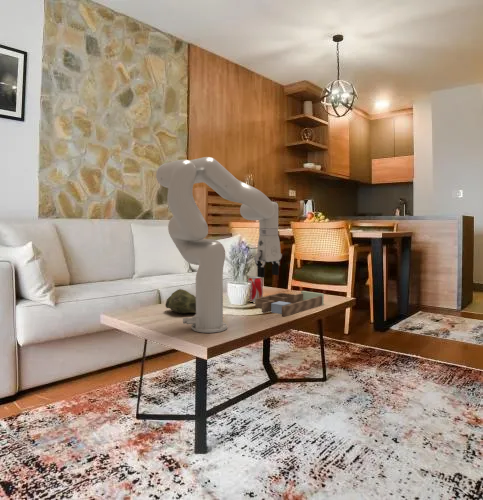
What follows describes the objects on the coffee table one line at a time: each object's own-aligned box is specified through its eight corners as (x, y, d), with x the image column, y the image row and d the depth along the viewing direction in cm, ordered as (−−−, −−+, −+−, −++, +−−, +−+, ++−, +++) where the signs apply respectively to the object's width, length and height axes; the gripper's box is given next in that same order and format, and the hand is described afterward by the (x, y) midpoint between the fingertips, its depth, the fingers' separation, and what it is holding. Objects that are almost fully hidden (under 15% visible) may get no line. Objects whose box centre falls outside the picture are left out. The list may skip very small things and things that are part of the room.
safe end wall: (322, 304, 181) (322, 294, 181) (300, 301, 188) (301, 291, 188) (323, 304, 182) (323, 293, 181) (302, 301, 189) (302, 290, 189)
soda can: (261, 304, 183) (261, 278, 182) (246, 303, 185) (246, 277, 184) (263, 301, 190) (263, 276, 189) (249, 300, 191) (249, 275, 191)
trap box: (284, 316, 158) (284, 306, 158) (246, 309, 171) (246, 300, 171) (322, 304, 181) (322, 296, 181) (286, 299, 194) (286, 291, 193)
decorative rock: (196, 311, 175) (198, 288, 176) (206, 316, 160) (207, 291, 161) (163, 310, 170) (164, 287, 171) (169, 315, 155) (171, 290, 156)
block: (283, 314, 162) (283, 305, 162) (271, 312, 166) (271, 303, 166) (291, 312, 167) (291, 302, 167) (279, 310, 171) (279, 301, 171)
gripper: (262, 233, 149) (262, 279, 150) (288, 232, 162) (288, 274, 163) (247, 233, 154) (247, 277, 155) (273, 232, 167) (273, 273, 168)
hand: (268, 275), depth 159 cm, fingers open, 9 cm apart
